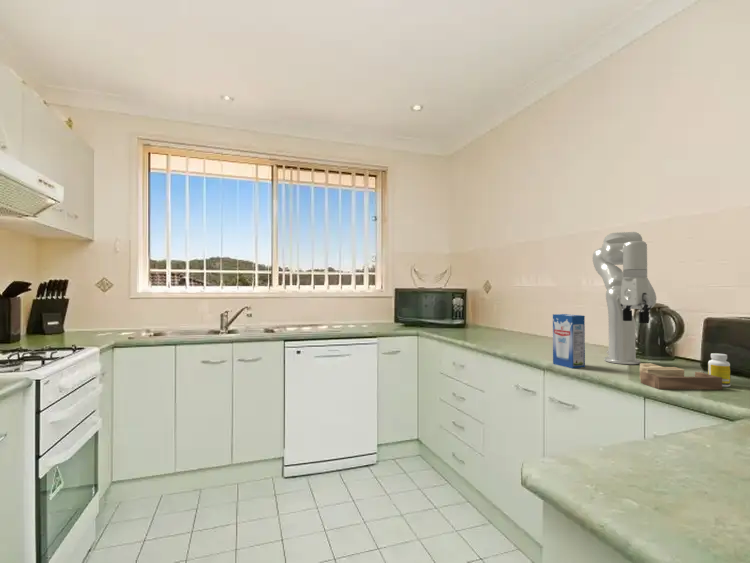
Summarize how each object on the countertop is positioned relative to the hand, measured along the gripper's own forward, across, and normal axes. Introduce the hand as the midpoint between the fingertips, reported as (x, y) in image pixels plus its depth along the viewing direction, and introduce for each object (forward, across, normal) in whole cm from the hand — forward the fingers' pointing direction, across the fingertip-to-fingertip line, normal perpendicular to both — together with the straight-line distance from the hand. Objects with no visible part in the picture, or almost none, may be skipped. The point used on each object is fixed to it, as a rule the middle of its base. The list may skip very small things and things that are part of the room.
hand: (635, 321), depth 148 cm
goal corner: (+18, +21, 0) cm, 28 cm away
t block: (+18, +10, 0) cm, 21 cm away
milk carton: (+18, -12, -19) cm, 29 cm away
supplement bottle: (+18, +20, +13) cm, 30 cm away
